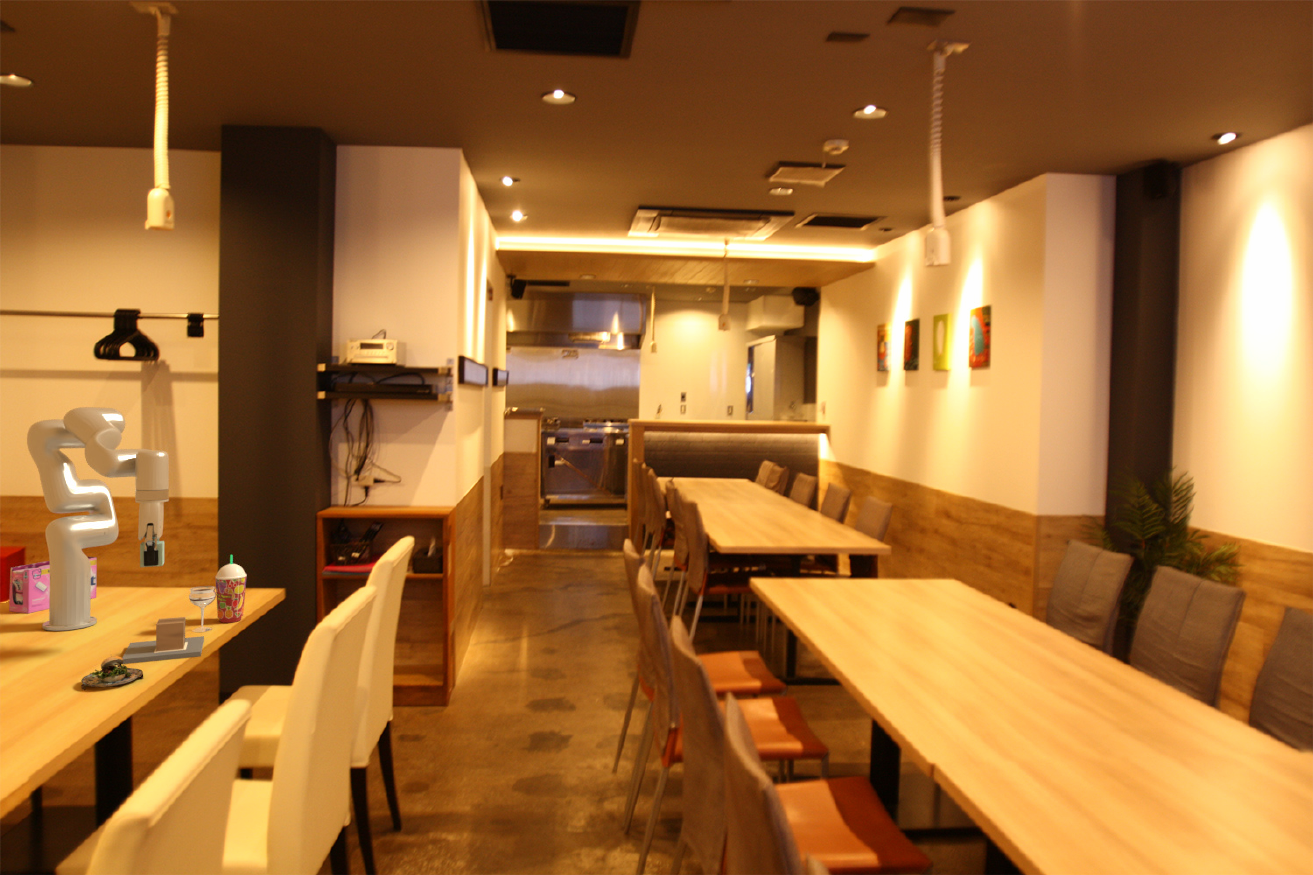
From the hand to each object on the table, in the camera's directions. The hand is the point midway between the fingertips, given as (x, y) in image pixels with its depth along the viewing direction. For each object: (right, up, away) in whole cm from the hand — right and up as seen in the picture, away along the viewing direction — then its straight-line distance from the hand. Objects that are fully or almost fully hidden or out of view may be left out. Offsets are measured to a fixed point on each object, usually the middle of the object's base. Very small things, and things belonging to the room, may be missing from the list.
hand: (152, 563), depth 209 cm
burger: (+9, -24, -28) cm, 38 cm away
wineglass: (+4, -22, +16) cm, 28 cm away
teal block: (0, -1, 0) cm, 1 cm away
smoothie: (+7, -22, +26) cm, 35 cm away
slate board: (+6, -23, -5) cm, 24 cm away
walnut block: (+8, -21, -5) cm, 23 cm away
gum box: (-57, -20, +39) cm, 71 cm away
